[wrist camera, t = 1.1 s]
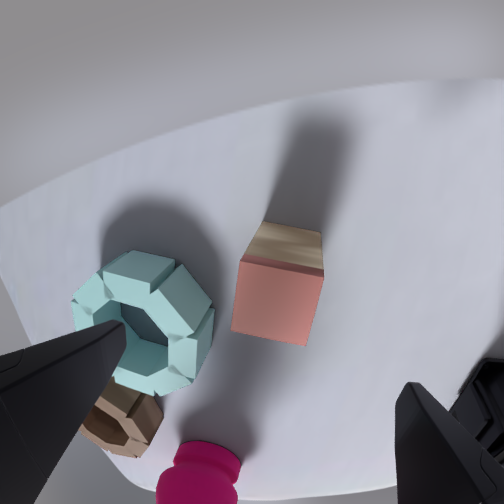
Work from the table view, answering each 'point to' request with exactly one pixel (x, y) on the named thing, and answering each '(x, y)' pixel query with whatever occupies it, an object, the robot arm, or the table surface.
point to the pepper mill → (200, 476)
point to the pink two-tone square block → (279, 284)
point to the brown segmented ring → (122, 420)
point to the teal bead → (159, 310)
